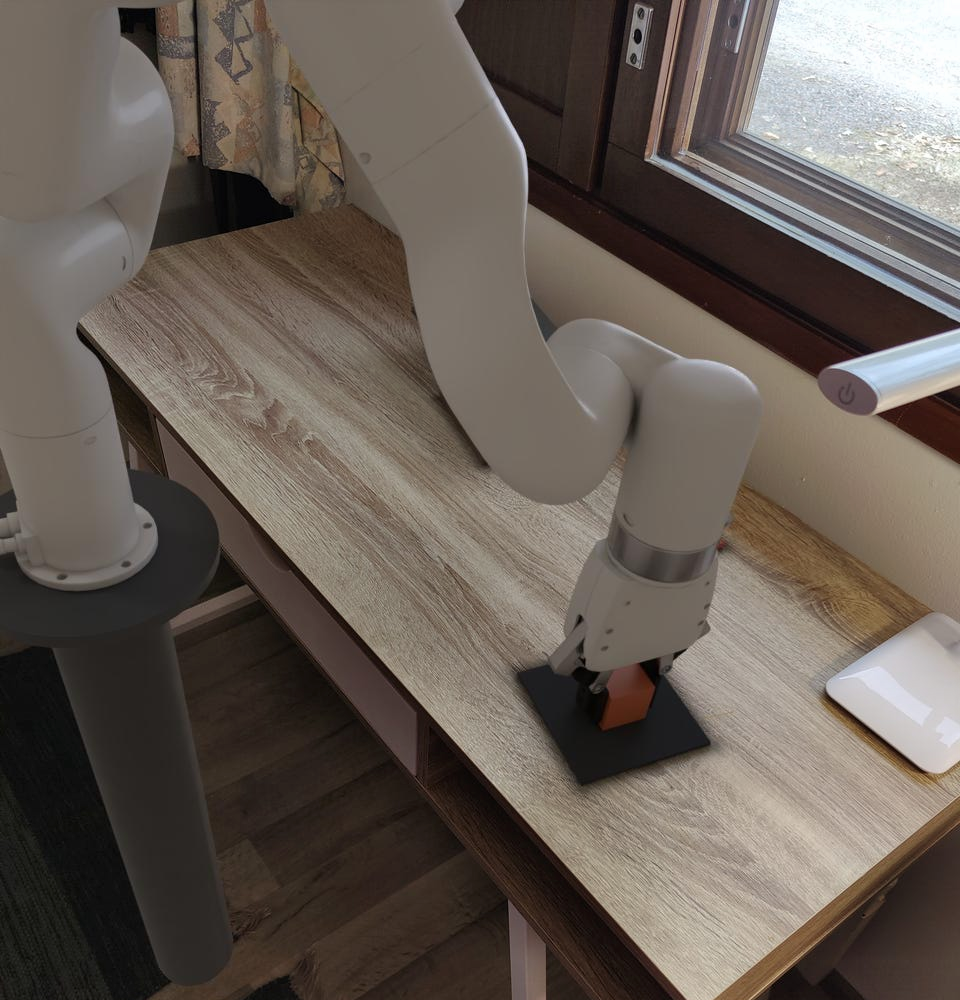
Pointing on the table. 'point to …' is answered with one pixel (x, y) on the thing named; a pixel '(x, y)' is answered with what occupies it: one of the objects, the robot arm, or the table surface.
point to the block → (627, 696)
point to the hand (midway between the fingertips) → (613, 702)
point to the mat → (616, 747)
